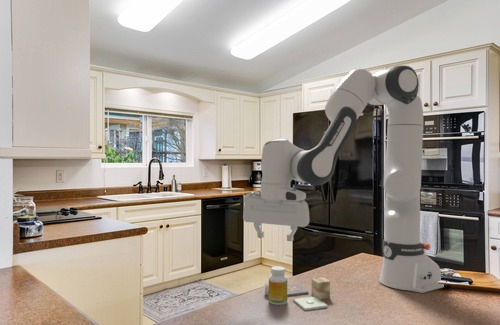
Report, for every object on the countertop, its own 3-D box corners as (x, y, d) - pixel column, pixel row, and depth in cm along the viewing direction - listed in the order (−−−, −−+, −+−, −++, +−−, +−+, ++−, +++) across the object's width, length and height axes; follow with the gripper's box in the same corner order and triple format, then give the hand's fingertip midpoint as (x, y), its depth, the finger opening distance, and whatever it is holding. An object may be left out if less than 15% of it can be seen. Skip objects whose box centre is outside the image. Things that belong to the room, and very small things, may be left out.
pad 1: (298, 286, 116) (298, 284, 116) (308, 293, 109) (308, 291, 109) (278, 288, 113) (278, 286, 113) (287, 296, 107) (287, 293, 107)
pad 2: (314, 298, 105) (314, 296, 105) (327, 307, 99) (327, 305, 99) (293, 301, 103) (293, 298, 103) (304, 310, 96) (304, 308, 96)
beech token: (323, 293, 110) (323, 277, 110) (329, 298, 106) (330, 281, 106) (311, 294, 108) (311, 278, 108) (318, 299, 104) (318, 282, 104)
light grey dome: (277, 290, 112) (277, 281, 112) (283, 296, 107) (284, 286, 107) (262, 292, 110) (262, 282, 110) (268, 298, 105) (268, 288, 105)
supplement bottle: (286, 306, 99) (286, 271, 99) (267, 304, 100) (267, 270, 100) (288, 299, 105) (288, 266, 105) (270, 297, 106) (270, 264, 106)
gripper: (239, 192, 108) (239, 237, 108) (305, 195, 99) (304, 244, 99) (248, 190, 114) (248, 234, 113) (311, 193, 105) (310, 240, 105)
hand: (275, 239), depth 106 cm, fingers open, 8 cm apart
